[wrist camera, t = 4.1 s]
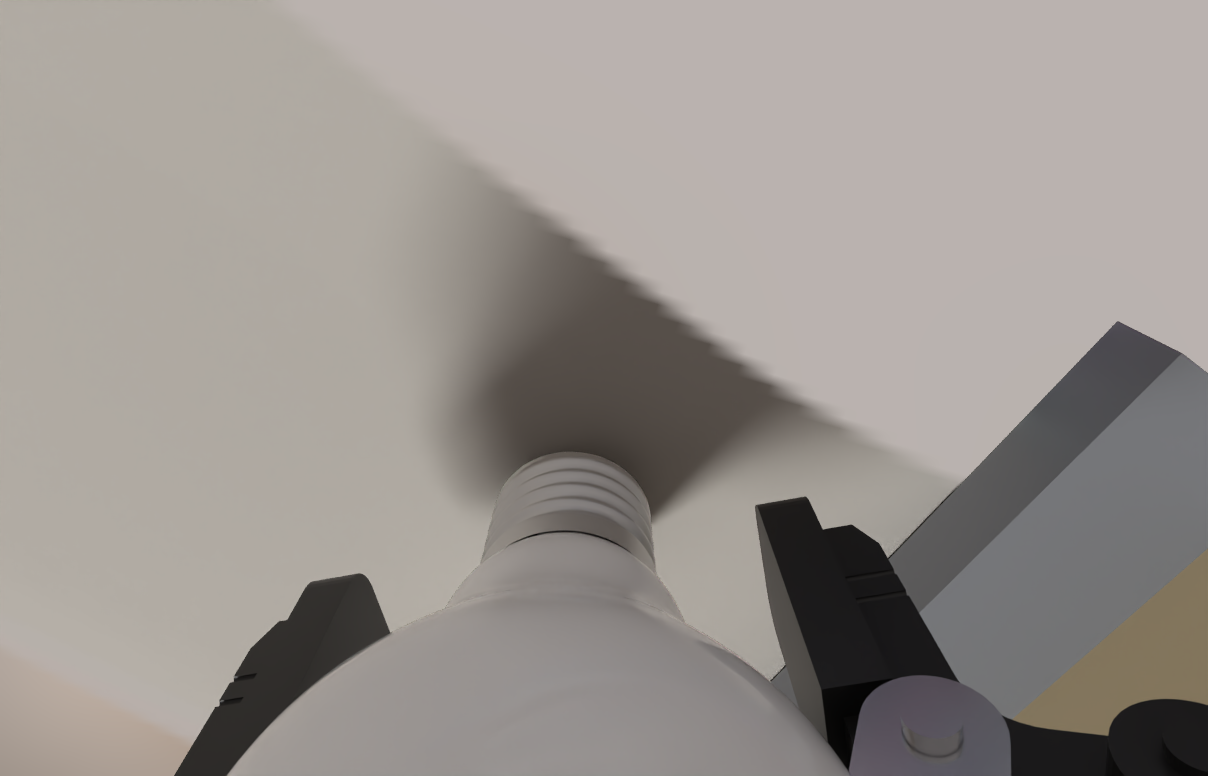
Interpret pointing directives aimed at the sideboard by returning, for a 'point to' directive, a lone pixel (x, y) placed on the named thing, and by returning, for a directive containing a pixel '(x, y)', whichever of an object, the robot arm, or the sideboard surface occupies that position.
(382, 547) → the sideboard surface
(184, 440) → the sideboard surface
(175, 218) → the sideboard surface
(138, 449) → the sideboard surface
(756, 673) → the lightbulb
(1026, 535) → the bulb socket
